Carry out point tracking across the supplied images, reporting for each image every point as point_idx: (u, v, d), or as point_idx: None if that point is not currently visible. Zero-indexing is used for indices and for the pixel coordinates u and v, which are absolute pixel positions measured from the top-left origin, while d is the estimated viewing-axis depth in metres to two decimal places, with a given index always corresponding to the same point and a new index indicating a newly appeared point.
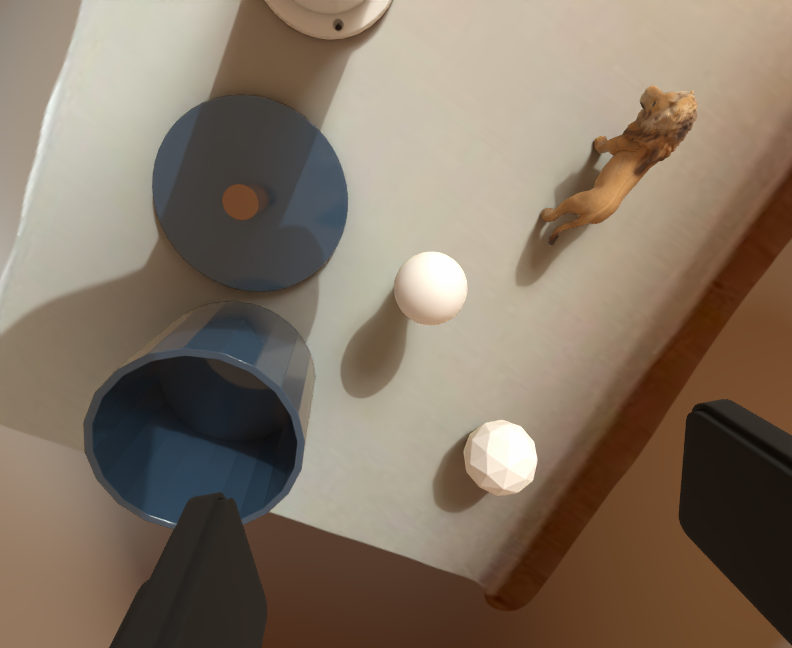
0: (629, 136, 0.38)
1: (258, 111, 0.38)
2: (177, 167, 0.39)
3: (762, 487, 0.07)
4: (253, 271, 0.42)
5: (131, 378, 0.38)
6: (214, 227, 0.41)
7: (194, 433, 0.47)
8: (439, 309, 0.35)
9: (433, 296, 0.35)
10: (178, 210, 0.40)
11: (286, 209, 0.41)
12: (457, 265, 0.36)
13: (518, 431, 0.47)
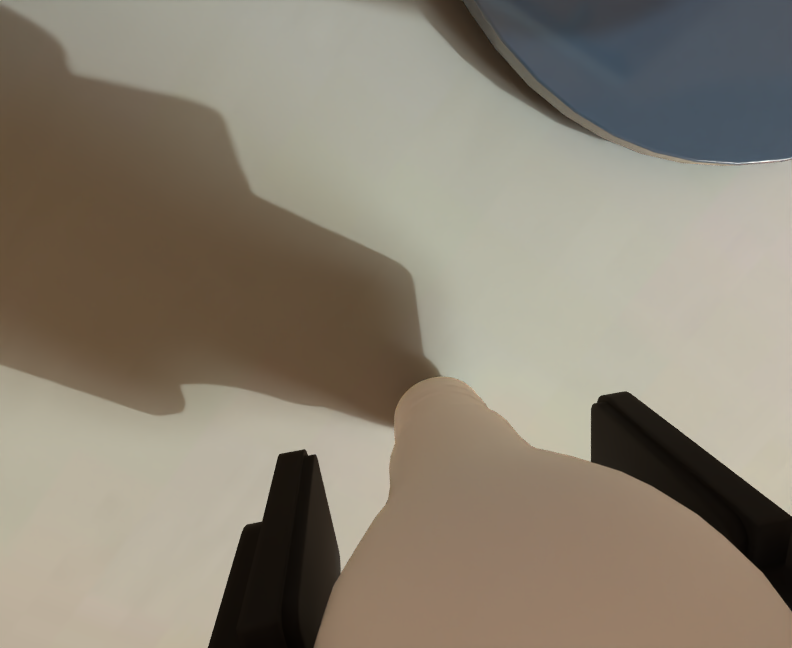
0: None
1: None
2: None
3: (641, 470, 0.08)
4: None
5: None
6: None
7: None
8: None
9: None
10: None
11: None
12: None
13: None
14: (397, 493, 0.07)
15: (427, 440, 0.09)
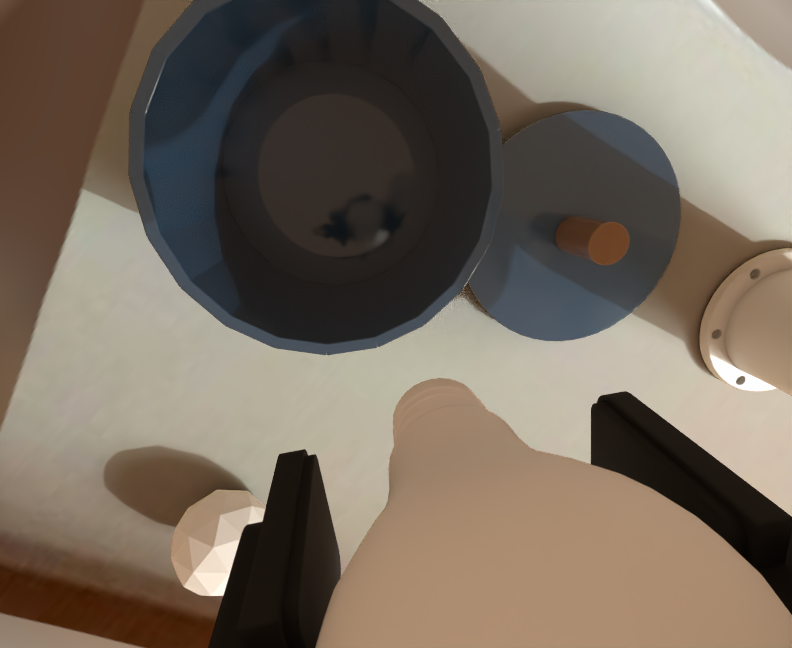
0: None
1: (659, 250, 0.35)
2: (620, 148, 0.32)
3: (641, 470, 0.08)
4: None
5: (395, 50, 0.23)
6: (547, 183, 0.32)
7: (239, 103, 0.29)
8: None
9: None
10: (573, 140, 0.32)
11: (556, 273, 0.34)
12: None
13: None
14: (397, 496, 0.07)
15: (426, 442, 0.09)
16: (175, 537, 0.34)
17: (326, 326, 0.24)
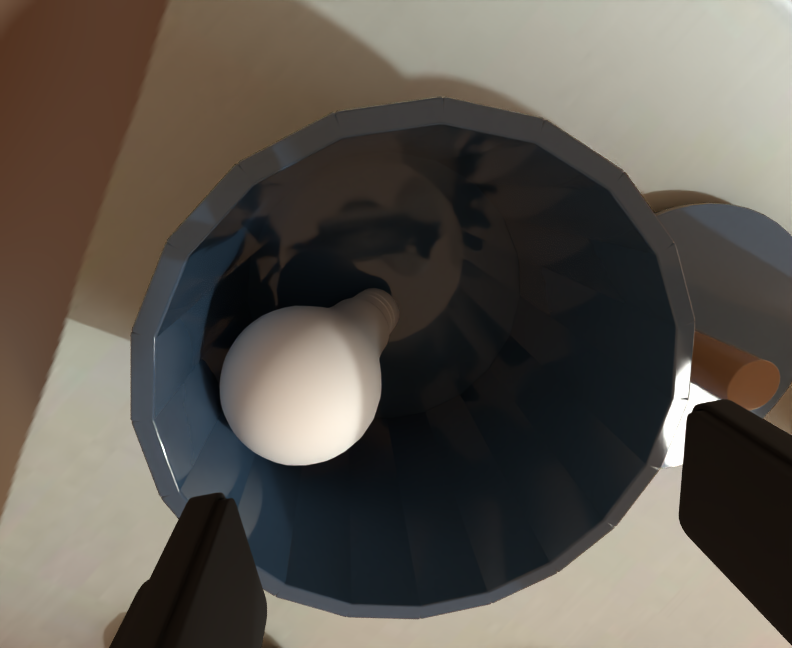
0: None
1: (785, 362, 0.28)
2: (748, 247, 0.25)
3: (762, 487, 0.07)
4: None
5: (502, 171, 0.16)
6: None
7: (270, 212, 0.22)
8: (235, 428, 0.16)
9: (256, 424, 0.15)
10: (690, 240, 0.25)
11: None
12: (344, 450, 0.17)
13: None
14: None
15: None
16: None
17: (405, 543, 0.18)
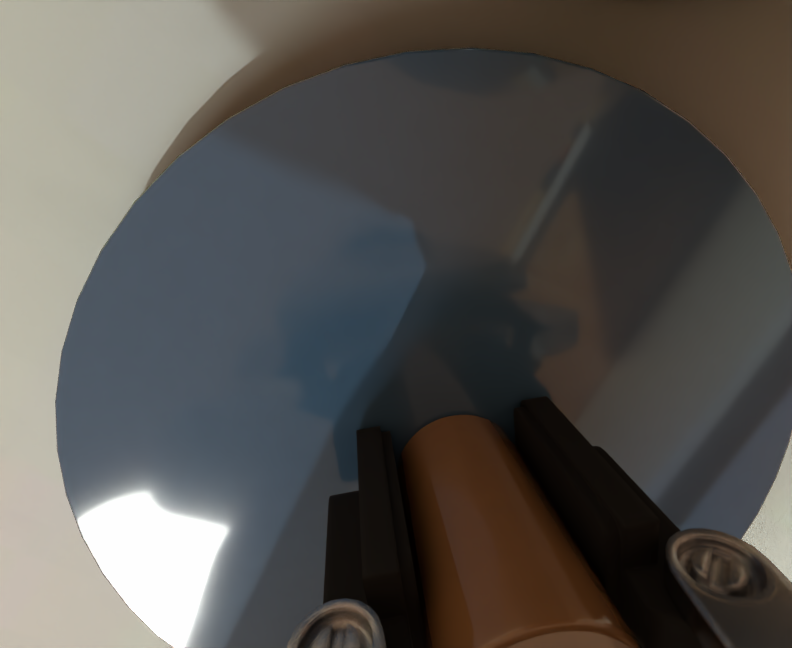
0: None
1: None
2: None
3: (547, 473, 0.08)
4: (502, 169, 0.08)
5: None
6: (621, 362, 0.10)
7: None
8: None
9: None
10: (725, 416, 0.11)
11: (327, 440, 0.10)
12: None
13: None
14: None
15: None
16: None
17: None
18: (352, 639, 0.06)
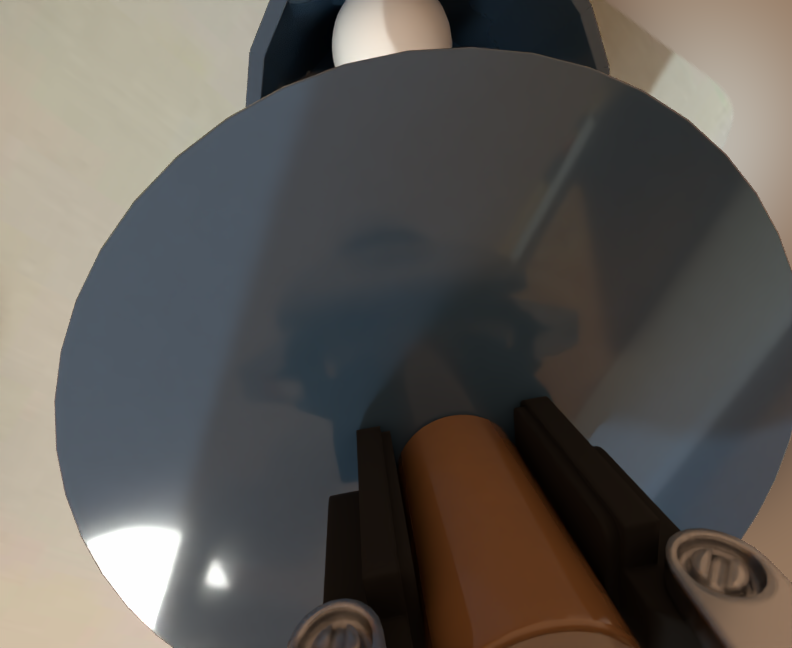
0: None
1: None
2: None
3: (547, 473, 0.08)
4: (502, 168, 0.08)
5: None
6: (621, 362, 0.10)
7: None
8: None
9: None
10: (725, 416, 0.11)
11: (327, 440, 0.10)
12: None
13: None
14: None
15: None
16: None
17: None
18: (352, 639, 0.06)
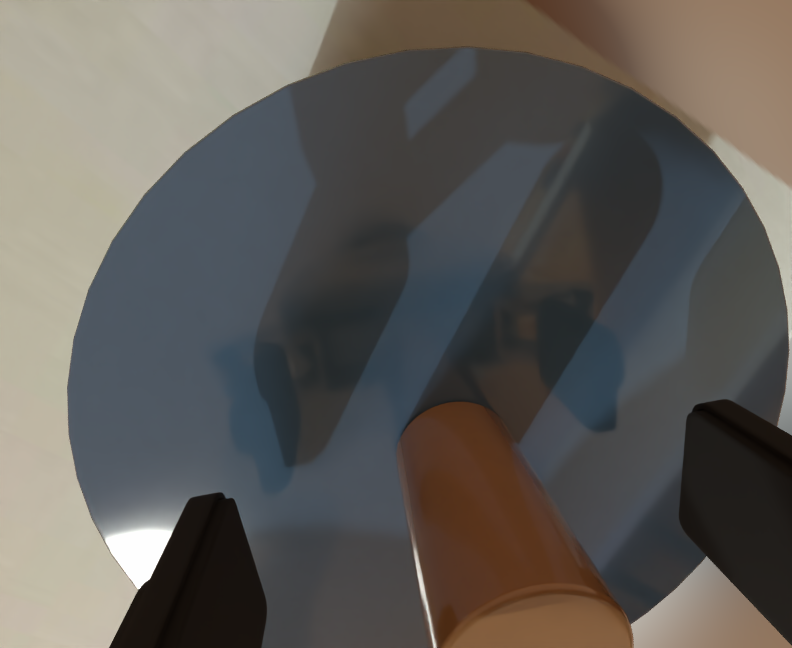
0: None
1: None
2: (669, 523, 0.12)
3: (762, 487, 0.07)
4: (497, 163, 0.09)
5: None
6: (612, 350, 0.10)
7: None
8: None
9: None
10: None
11: (328, 426, 0.10)
12: None
13: None
14: None
15: None
16: None
17: None
18: None
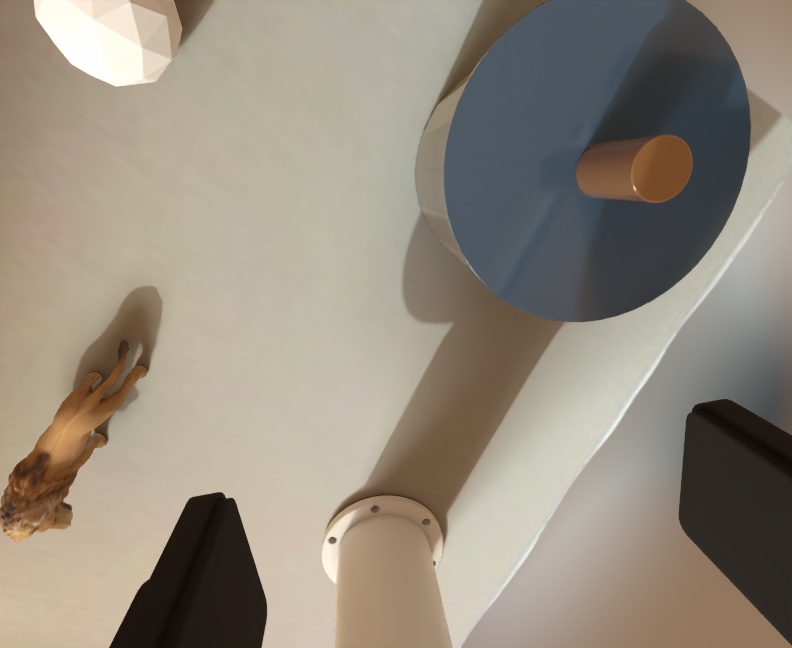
0: (70, 478, 0.35)
1: (563, 301, 0.26)
2: (695, 221, 0.25)
3: (762, 487, 0.07)
4: (630, 30, 0.22)
5: None
6: (672, 121, 0.24)
7: None
8: None
9: None
10: (716, 153, 0.24)
11: (549, 152, 0.23)
12: None
13: (90, 73, 0.28)
14: None
15: None
16: None
17: None
18: None
